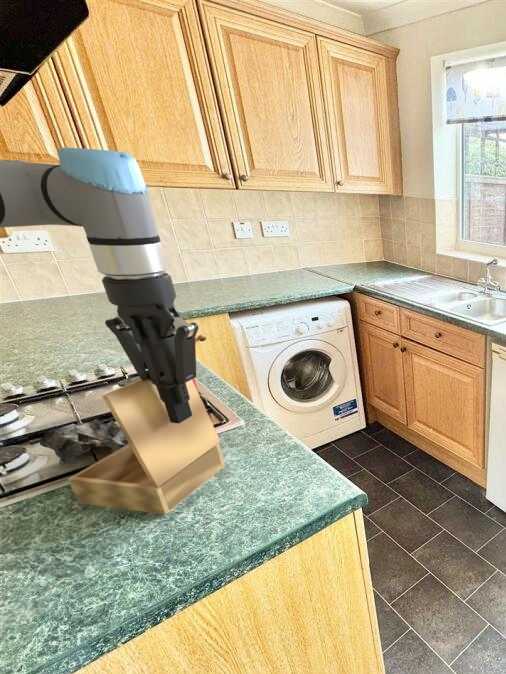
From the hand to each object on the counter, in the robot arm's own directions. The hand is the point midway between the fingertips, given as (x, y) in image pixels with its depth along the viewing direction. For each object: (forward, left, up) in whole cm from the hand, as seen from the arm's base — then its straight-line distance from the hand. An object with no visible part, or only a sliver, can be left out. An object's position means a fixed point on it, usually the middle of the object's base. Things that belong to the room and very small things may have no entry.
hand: (181, 418), depth 69 cm
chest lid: (-3, 0, -1) cm, 3 cm away
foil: (-25, +7, -15) cm, 30 cm away
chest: (-9, 0, -15) cm, 18 cm away
